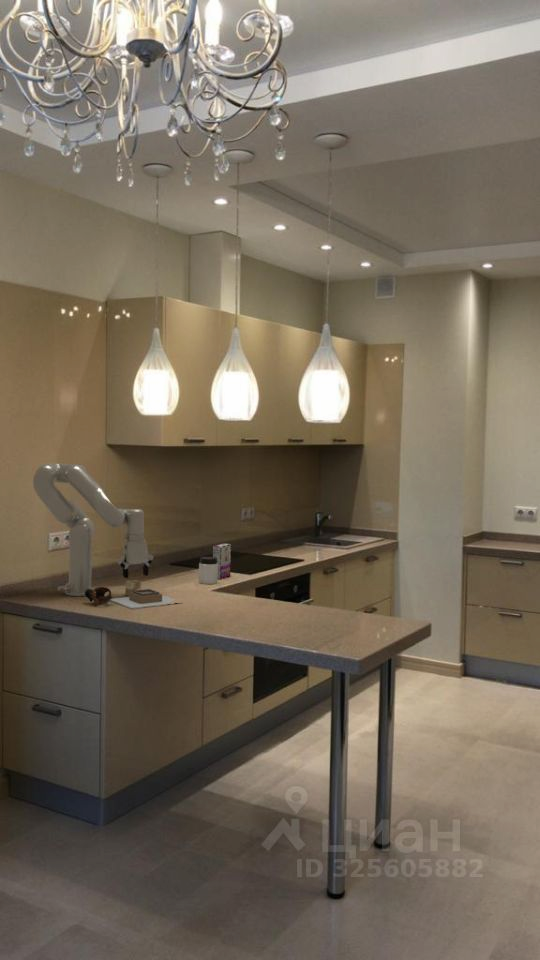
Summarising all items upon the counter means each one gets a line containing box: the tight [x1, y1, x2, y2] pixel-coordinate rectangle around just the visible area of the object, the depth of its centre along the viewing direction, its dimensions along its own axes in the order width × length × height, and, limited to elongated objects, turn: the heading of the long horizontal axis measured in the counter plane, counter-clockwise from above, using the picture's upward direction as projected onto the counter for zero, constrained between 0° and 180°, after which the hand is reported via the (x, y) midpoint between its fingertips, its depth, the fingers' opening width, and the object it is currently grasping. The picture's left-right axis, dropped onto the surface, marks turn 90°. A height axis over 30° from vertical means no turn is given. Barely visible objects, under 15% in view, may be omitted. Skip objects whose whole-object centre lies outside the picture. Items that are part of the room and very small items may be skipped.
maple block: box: [124, 579, 142, 597], centre depth 367 cm, size 5×5×6 cm
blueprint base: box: [109, 588, 176, 610], centre depth 352 cm, size 24×20×4 cm
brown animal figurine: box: [85, 586, 114, 607], centre depth 345 cm, size 12×10×8 cm
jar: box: [198, 556, 218, 585], centre depth 403 cm, size 9×8×12 cm
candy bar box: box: [212, 543, 232, 580], centre depth 419 cm, size 11×5×16 cm, turn 156°
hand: (135, 576), depth 367 cm, fingers open, 9 cm apart
